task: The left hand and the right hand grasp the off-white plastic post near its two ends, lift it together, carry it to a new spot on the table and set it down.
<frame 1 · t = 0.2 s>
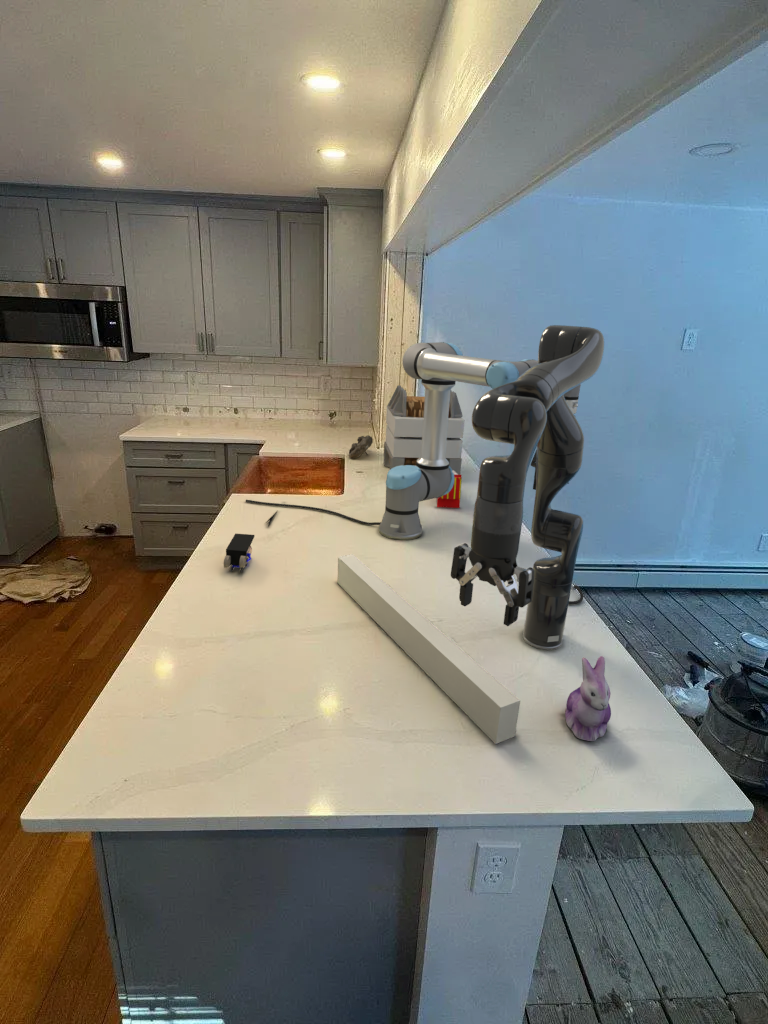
left hand: (551, 486, 166), 28 cm above the counter, tool pointing down, fingers open, 13 cm apart
right hand: (486, 613, 94), 28 cm above the counter, tool pointing down, fingers open, 8 cm apart
fossil: (360, 455, 304), on the counter
figurine: (587, 726, 110), on the counter
post: (407, 643, 135), on the counter
feather: (275, 514, 213), on the counter
black wheeled rover: (240, 565, 171), on the counter
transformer: (419, 473, 275), on the counter
red striped box: (443, 497, 241), on the counter
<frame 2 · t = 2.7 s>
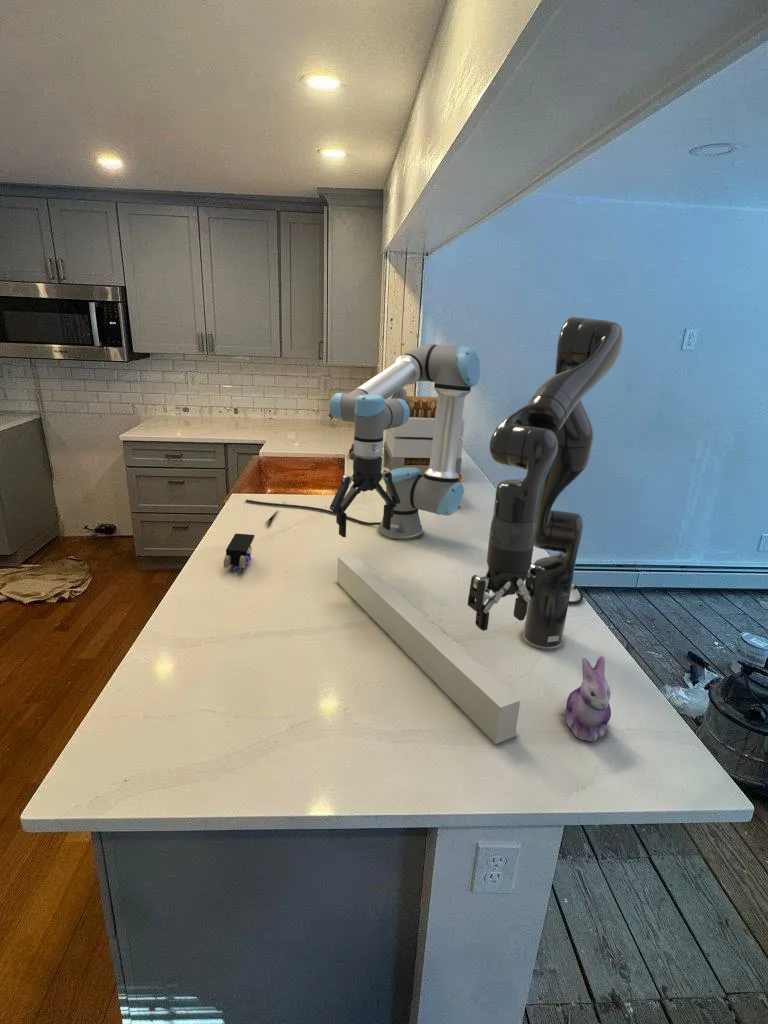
left hand: (364, 532, 154), 17 cm above the counter, tool pointing down, fingers open, 13 cm apart
right hand: (500, 623, 102), 22 cm above the counter, tool pointing down, fingers open, 8 cm apart
nothing on the counter moved.
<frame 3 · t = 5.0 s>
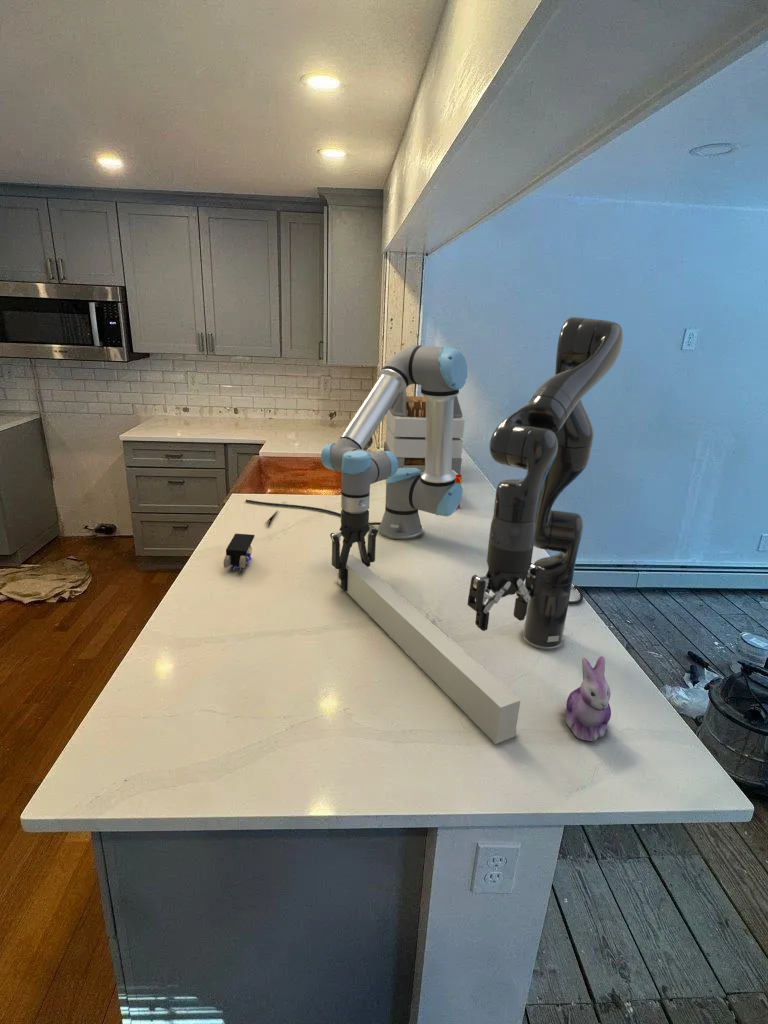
left hand: (352, 587, 159), 1 cm above the counter, tool pointing down, fingers closed on post, 5 cm apart
right hand: (500, 623, 102), 22 cm above the counter, tool pointing down, fingers open, 8 cm apart
post: (407, 643, 135), on the counter, touching left hand
everything else where it was.
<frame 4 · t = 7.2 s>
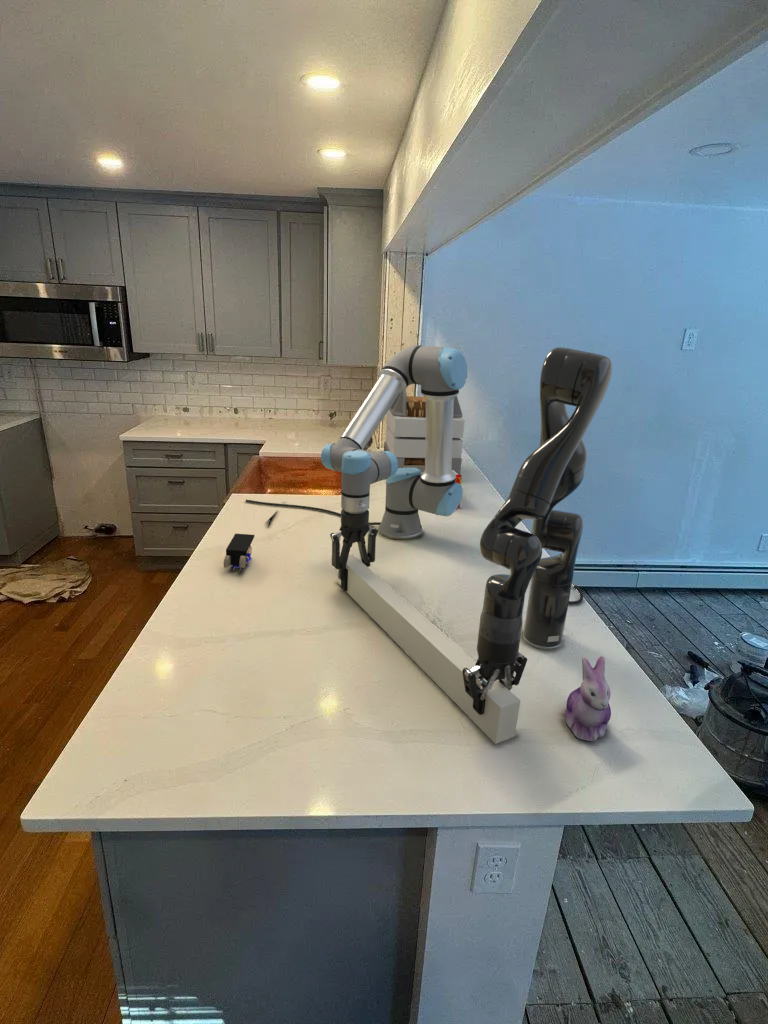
left hand: (352, 587, 159), 1 cm above the counter, tool pointing down, fingers closed on post, 5 cm apart
right hand: (490, 707, 109), 4 cm above the counter, tool pointing down, fingers closed on post, 4 cm apart
post: (407, 643, 135), on the counter, touching left hand, right hand
everything else where it was.
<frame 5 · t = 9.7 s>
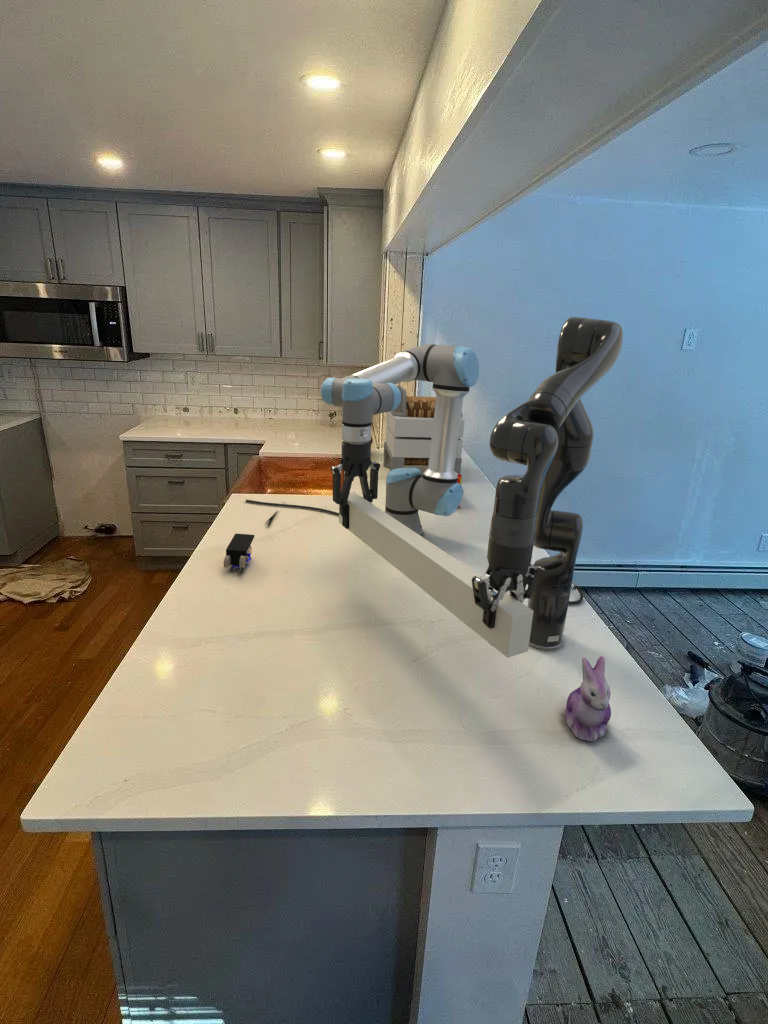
left hand: (354, 525, 153), 19 cm above the counter, tool pointing down, fingers closed on post, 5 cm apart
right hand: (500, 622, 103), 22 cm above the counter, tool pointing down, fingers closed on post, 4 cm apart
post: (412, 572, 129), point 19 cm above the counter, touching left hand, right hand
everything else where it was.
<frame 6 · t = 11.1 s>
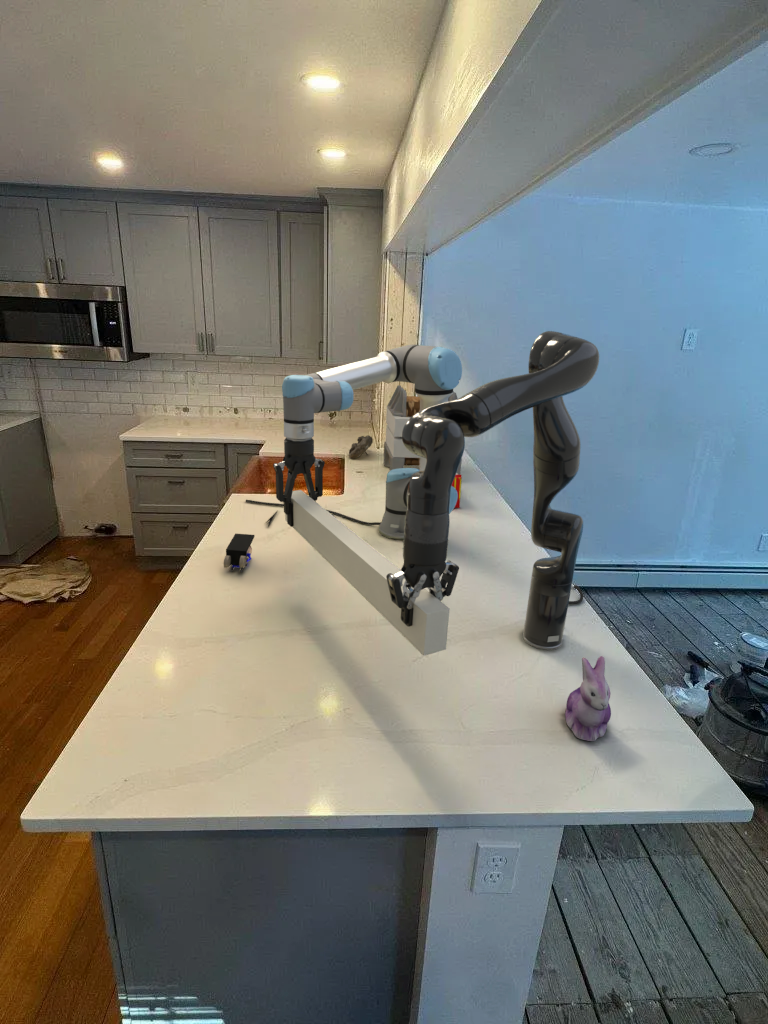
left hand: (300, 523, 152), 19 cm above the counter, tool pointing down, fingers closed on post, 5 cm apart
right hand: (420, 620, 102), 22 cm above the counter, tool pointing down, fingers closed on post, 4 cm apart
post: (348, 570, 128), point 19 cm above the counter, touching left hand, right hand
everything else where it was.
when the left hand's fingers open (2 cm above the counter, at t = 14.6 s): post drops 1 cm, on the counter.
when the right hand's fingers open (5 cm above the counter, at t = 14.8 s): post stays where it is, on the counter.
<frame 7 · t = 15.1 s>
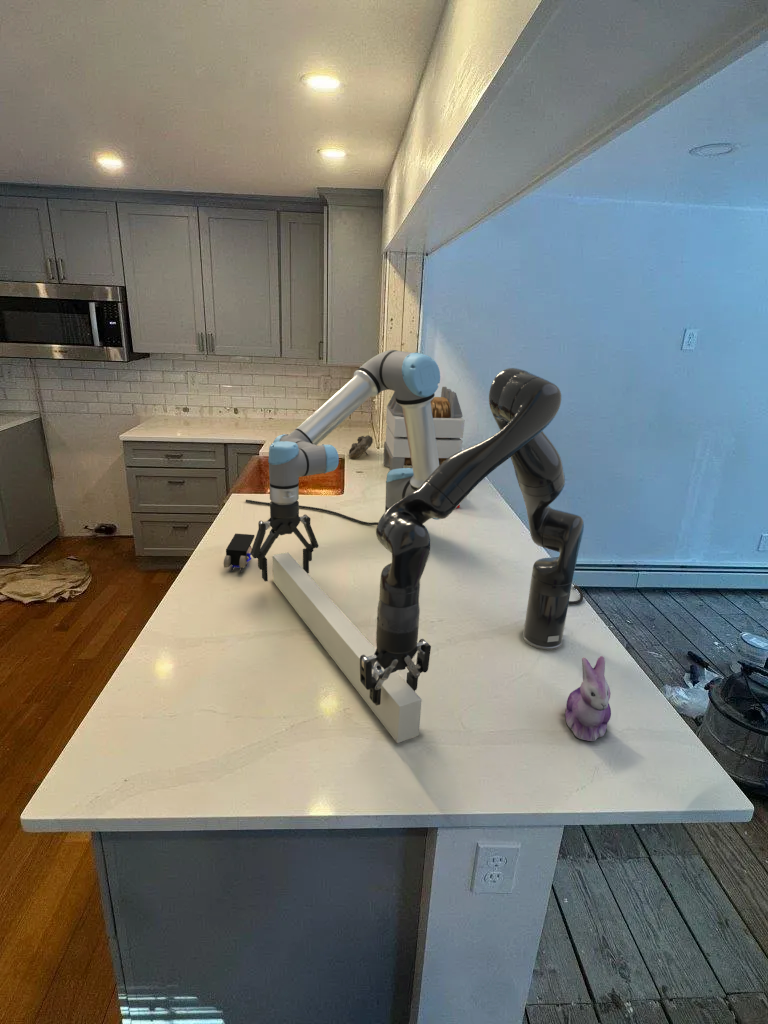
left hand: (285, 575, 157), 4 cm above the counter, tool pointing down, fingers open, 11 cm apart
right hand: (393, 696, 107), 6 cm above the counter, tool pointing down, fingers open, 7 cm apart
post: (330, 642, 134), on the counter
everything else where it was.
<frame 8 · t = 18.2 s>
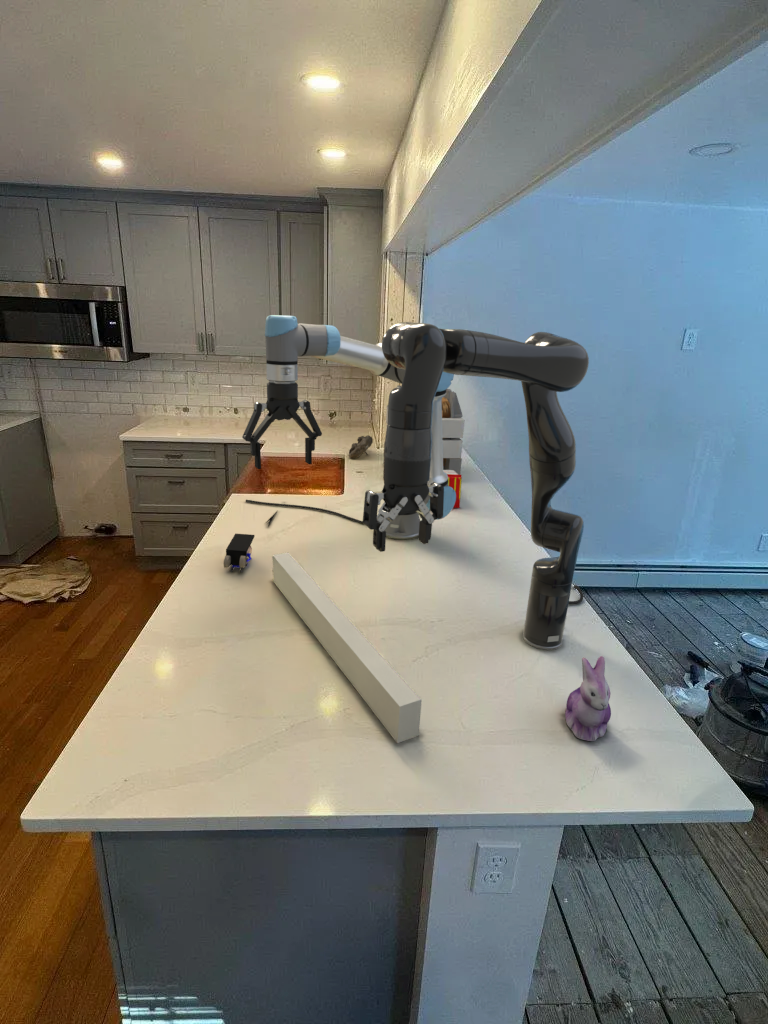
left hand: (283, 465, 146), 35 cm above the counter, tool pointing down, fingers open, 13 cm apart
right hand: (402, 546, 96), 37 cm above the counter, tool pointing down, fingers open, 8 cm apart
nothing on the counter moved.
at the end: post inside the target area (0.4 cm from its centre), on the counter; post tilted 0°; post never tilted more than 2° during the clip; both hands held the post at the same time; the left hand is holding nothing; the right hand is holding nothing; post at rest at the end (0.0 cm/s) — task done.
